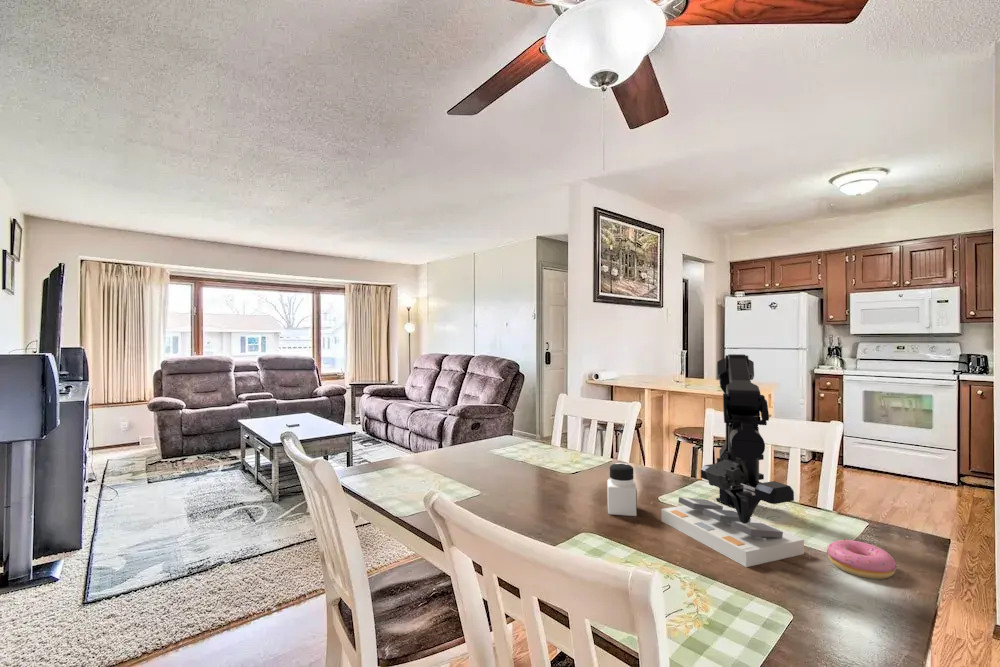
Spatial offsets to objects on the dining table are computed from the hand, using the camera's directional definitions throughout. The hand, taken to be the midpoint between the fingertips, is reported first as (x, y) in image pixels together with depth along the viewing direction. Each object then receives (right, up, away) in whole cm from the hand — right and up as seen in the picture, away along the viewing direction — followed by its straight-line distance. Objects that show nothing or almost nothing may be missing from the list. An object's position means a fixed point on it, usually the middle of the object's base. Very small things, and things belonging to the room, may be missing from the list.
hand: (744, 522), depth 99 cm
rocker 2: (+3, -2, +1) cm, 4 cm away
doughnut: (+20, -7, -6) cm, 22 cm away
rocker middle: (0, -2, +9) cm, 9 cm away
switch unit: (0, -7, +9) cm, 11 cm away
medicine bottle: (-19, -7, +25) cm, 32 cm away
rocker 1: (-2, -2, +16) cm, 16 cm away
